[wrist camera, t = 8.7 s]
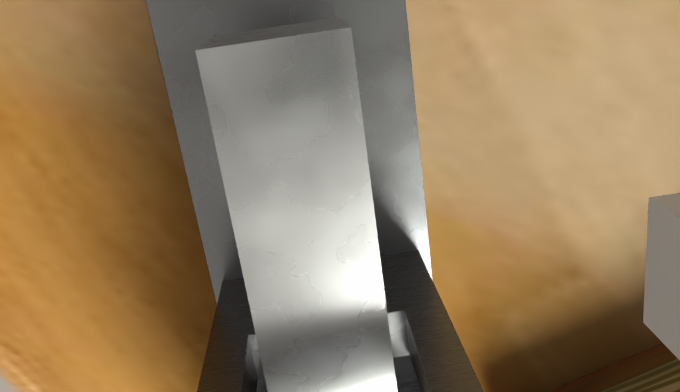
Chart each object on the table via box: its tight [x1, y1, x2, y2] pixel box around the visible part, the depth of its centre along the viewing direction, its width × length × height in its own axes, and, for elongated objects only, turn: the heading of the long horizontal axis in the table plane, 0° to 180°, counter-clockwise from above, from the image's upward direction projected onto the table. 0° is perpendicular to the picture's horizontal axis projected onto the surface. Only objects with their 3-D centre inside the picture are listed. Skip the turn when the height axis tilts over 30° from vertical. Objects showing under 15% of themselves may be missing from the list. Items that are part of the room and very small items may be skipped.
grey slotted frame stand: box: [146, 0, 483, 392], centre depth 21 cm, size 36×10×15 cm, turn 8°
